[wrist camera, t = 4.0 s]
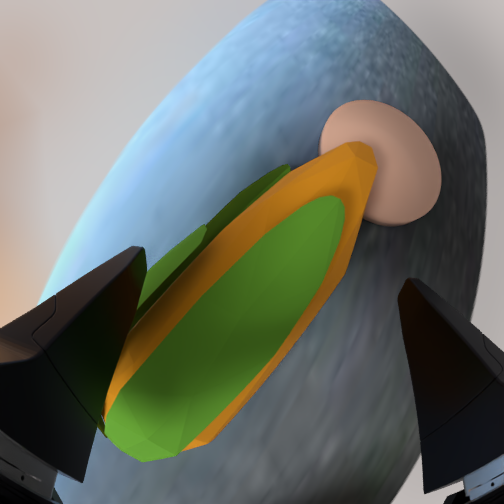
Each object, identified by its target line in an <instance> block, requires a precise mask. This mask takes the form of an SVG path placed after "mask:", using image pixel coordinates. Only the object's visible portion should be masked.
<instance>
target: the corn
mask: <svg viewBox="0 0 504 504" xmlns="http://www.w3.org/2000/svg"><path fill="white" fill-rule="evenodd" d="M377 170H378V166H377V162H376V159H375V156H374V152H373V149H372V147H370V146H368V145H366V144H364V143H362V142H360V141H355V142H346V143H344V144H342V145H340V146H338V147H336V148H334V149H332V150H330V151H328V152H326V153H324V154H322V155H321V156H319V157H317V158H315V159H313V160H311V161H309V162H307V163H306V164H304V165H302V166H300V167H298V168H296V169H295V170H293V171H291V169H290V166H289V165H288V164H285V165H282V166H280V167H278V168H276V169H274V170H272V171H271V172H269V173H267V174H266V175H264V176H263V177H261V178H260V179H259V180H257V181H256V182H254V183H253V184H251V185H250V186H248V187H247V188H246V189H244V190H243V191H241V192H240V193H239V194H238V195H237V196H236V197H235V198H233V199H232V200H231V201H230V202H229V203H228V204H227V205H226V206H225V207H224V208H223V209H222V210H221V211H220V212H219V213H218V214H217V215H216V216H215V217H214V218H213V219H212V220H211V221H210V222H209V223H208V224H207V225H206V226H205V224H203V225H202V226H200V227H199V228H198V229H197V230H195V231H194V232H193V233H191V234H190V235H189V236H188V237H186V238H185V239H184V240H183V241H181V242H180V243H179V244H178V245H176V246H175V247H174V248H173V249H171V250H170V251H169V252H168V253H167V254H166V255H164V256H163V257H162V258H161V259H160V260H159V261H158V262H157V263H156V264H155V265H153V266H152V267H151V268H150V269H149V270H148V271H147V274H146V277H145V281H144V285H143V288H142V292H141V296H140V299H139V303H138V307H137V310H136V314H135V316H134V319H133V322H132V324H131V327H130V330H129V332H128V335H127V338H126V340H125V343H124V346H123V349H122V351H121V354H120V357H119V360H118V363H117V366H116V369H115V372H114V375H113V378H112V381H111V384H110V387H109V390H108V393H107V396H106V399H105V402H104V406H103V409H102V412H101V415H102V416H100V419H99V423H98V425H97V426H98V428H99V429H100V431H101V432H102V433H103V434H104V436H105V437H106V438H107V437H108V438H109V439H110V440H111V441H112V443H113V444H114V445H115V446H117V447H118V448H119V449H120V450H121V451H123V452H125V453H126V454H128V455H130V456H132V457H133V458H135V459H137V460H139V461H141V462H147V461H153V460H158V459H163V458H168V457H173V456H177V455H178V454H179V453H180V452H181V451H185V450H188V449H192V448H195V447H198V446H202V445H205V444H208V443H210V442H211V441H212V440H214V439H215V437H216V436H217V435H218V434H219V433H220V432H221V431H222V430H223V429H224V428H225V427H226V425H227V424H228V423H229V422H230V421H231V420H232V419H233V418H234V417H235V415H236V414H237V413H238V412H239V411H240V410H241V409H242V407H243V406H244V405H245V404H246V403H247V402H248V401H249V399H250V398H251V397H252V396H253V395H254V394H255V392H256V391H257V390H258V389H259V388H260V386H261V385H262V384H263V383H264V382H265V380H266V379H267V378H268V377H269V375H270V374H271V373H272V372H273V371H274V369H275V368H276V367H277V366H278V364H279V363H280V362H281V361H282V359H283V358H284V357H285V356H286V354H287V353H288V352H289V350H290V349H291V348H292V347H293V345H294V344H295V343H296V341H297V340H298V339H299V337H300V336H301V335H302V333H303V332H304V331H305V329H306V328H307V327H308V325H309V324H310V323H311V321H312V320H313V319H314V317H315V316H316V314H317V313H318V312H319V310H320V309H321V308H322V306H323V305H324V303H325V302H326V301H327V299H328V298H329V296H330V295H331V293H332V292H333V291H334V289H335V288H336V286H337V285H338V283H339V282H340V280H341V279H342V277H343V276H344V274H345V272H346V269H347V266H348V263H349V260H350V257H351V254H352V251H353V248H354V245H355V242H356V238H357V235H358V232H359V229H360V225H361V222H362V218H363V215H364V212H365V208H366V204H367V201H368V197H369V194H370V191H371V188H372V185H373V182H374V179H375V176H376V173H377ZM102 417H103V419H104V422H105V425H104V422H103V419H102Z"/></svg>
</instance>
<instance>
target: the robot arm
mask: <svg viewBox="0 0 504 504" xmlns="http://www.w3.org/2000/svg"><path fill="white" fill-rule="evenodd" d="M146 274H147V263H146V254H145V249H144V248H143V247H139V246H131V247H129V248H128V249H126V250H124V251H123V252H121V253H119V254H118V255H116V256H114V257H113V258H111V259H109V260H108V261H106V262H105V263H103V264H101V265H100V266H98V267H97V268H95V269H93V270H92V271H90V272H89V273H87V274H86V275H84V276H82V277H81V278H79V279H78V280H76V281H75V282H73V283H72V284H70V285H68V286H67V287H65V288H64V289H62V290H61V291H59V292H58V293H56V295H53V296H52V297H50V298H49V299H47V300H46V301H44V302H43V303H41V304H40V305H38V306H37V307H35V308H34V309H32V310H30V311H29V312H27V313H25V314H24V315H22V316H20V317H19V318H17V319H15V320H13V321H12V322H10V323H8V324H7V325H5V326H3V327H2V328H0V504H63V502H62V501H61V499H60V497H59V495H58V494H57V492H56V490H55V488H54V485H55V481H56V477H57V473H59V474H61V475H63V476H66V477H68V478H71V479H73V480H75V481H78V482H80V483H83V481H84V477H85V473H86V469H87V464H88V460H89V456H90V452H91V449H92V445H93V441H94V437H95V434H96V430H97V427H98V426H97V425H98V423H99V419H100V416H101V412H102V409H103V406H104V402H105V399H106V396H107V393H108V390H109V387H110V384H111V381H112V378H113V375H114V372H115V369H116V366H117V363H118V360H119V357H120V354H121V351H122V349H123V346H124V343H125V340H126V338H127V335H128V332H129V330H130V327H131V324H132V322H133V319H134V316H135V314H136V310H137V307H138V303H139V299H140V296H141V292H142V288H143V285H144V281H145V277H146ZM398 307H399V313H400V320H401V328H402V335H403V340H404V345H405V349H406V354H407V359H408V364H409V369H410V374H411V380H412V385H413V391H414V397H415V404H416V410H417V418H418V425H419V434H420V441H421V442H420V444H421V456H422V469H423V489H424V494H427V493H430V492H433V491H436V490H439V489H441V488H444V487H447V486H450V485H452V484H455V483H457V482H460V481H462V480H463V484H464V490H461V491H459V492H457V493H454V494H452V495H449V496H447V498H446V500H445V501H444V503H443V504H504V352H503V351H502V350H500V348H498V347H497V346H496V345H495V344H494V343H493V342H492V341H491V340H490V339H488V338H487V337H486V336H485V335H484V334H482V332H480V330H479V329H477V328H476V327H475V326H474V325H473V324H472V323H471V322H470V321H468V320H467V319H466V318H465V317H464V316H463V315H462V314H460V313H459V312H458V311H457V310H456V309H455V308H453V307H452V306H451V305H450V304H449V303H447V302H446V301H445V300H444V299H443V298H441V297H440V296H439V295H438V294H437V293H435V292H434V291H433V290H432V289H431V288H429V287H428V286H427V285H426V284H424V283H423V282H422V281H421V280H419V279H417V278H408V279H407V280H406V281H405V283H404V285H403V287H402V289H401V291H400V293H399V295H398Z"/></svg>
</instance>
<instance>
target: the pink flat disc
mask: <svg viewBox="0 0 504 504" xmlns="http://www.w3.org/2000/svg"><path fill="white" fill-rule="evenodd" d="M355 141H360V142H362V143H364V144H366V145H368V146H370V147H372V149H373V152H374V156H375V159H376V162H377V166H378V170H377V173H376V176H375V179H374V182H373V185H372V188H371V191H370V194H369V197H368V201H367V204H366V208H365V212H364V215H363V218H362V219H365V220H367V221H369V222H371V223H374V224H377V225H382V226H392V227H394V226H401V225H405V224H408V223H410V222H412V221H414V220H416V219H418V218H420V217H422V216H424V215H425V214H426V213H428V212H429V211H430V210H431V209H432V207H433V206H434V204H435V203H436V201H437V199H438V196H439V193H440V189H441V169H440V164H439V160H438V157H437V154H436V152H435V150H434V148H433V145H432V144H431V142H430V140H429V139H428V137H427V136H426V134H425V133H424V132H423V131H422V129H421V128H420V127H419V126H418V125H417V124H416V123H415V122H414V121H413V120H412V119H411V118H409V117H408V116H407V115H405V114H404V113H402V112H401V111H399V110H398V109H396V108H394V107H392V106H389V105H387V104H384V103H381V102H377V101H372V100H357V101H351V102H348V103H346V104H344V105H342V106H340V107H339V108H337V109H336V110H335V111H334V112H333V113H332V114H331V115H330V117H329V119H328V120H327V122H326V124H325V126H324V128H323V130H322V133H321V135H320V139H319V143H318V157H319V156H321V155H322V154H324V153H326V152H328V151H330V150H332V149H334V148H336V147H338V146H340V145H342V144H344V143H346V142H355Z"/></svg>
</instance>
